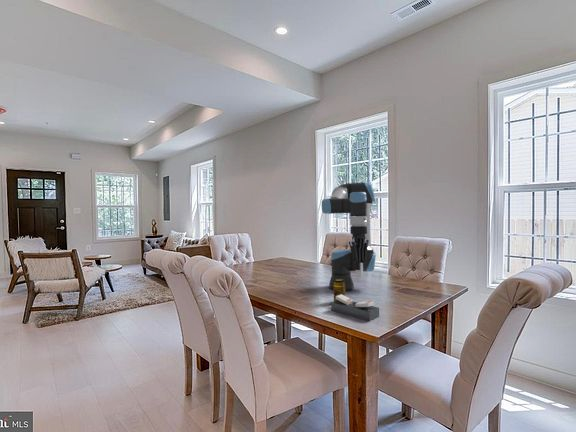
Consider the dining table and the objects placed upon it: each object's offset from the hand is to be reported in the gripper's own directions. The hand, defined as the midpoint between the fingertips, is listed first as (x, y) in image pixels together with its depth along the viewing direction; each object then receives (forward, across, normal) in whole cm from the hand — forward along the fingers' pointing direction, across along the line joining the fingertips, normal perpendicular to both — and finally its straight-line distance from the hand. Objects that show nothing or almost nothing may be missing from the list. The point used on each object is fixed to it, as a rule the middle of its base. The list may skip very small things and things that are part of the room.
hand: (359, 276), depth 140 cm
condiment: (+17, +9, +18) cm, 27 cm away
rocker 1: (+12, -1, +8) cm, 14 cm away
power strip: (+17, -1, +5) cm, 18 cm away
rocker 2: (+12, 0, -3) cm, 12 cm away
